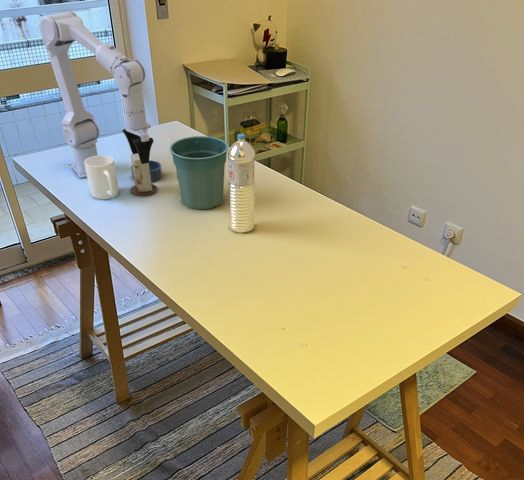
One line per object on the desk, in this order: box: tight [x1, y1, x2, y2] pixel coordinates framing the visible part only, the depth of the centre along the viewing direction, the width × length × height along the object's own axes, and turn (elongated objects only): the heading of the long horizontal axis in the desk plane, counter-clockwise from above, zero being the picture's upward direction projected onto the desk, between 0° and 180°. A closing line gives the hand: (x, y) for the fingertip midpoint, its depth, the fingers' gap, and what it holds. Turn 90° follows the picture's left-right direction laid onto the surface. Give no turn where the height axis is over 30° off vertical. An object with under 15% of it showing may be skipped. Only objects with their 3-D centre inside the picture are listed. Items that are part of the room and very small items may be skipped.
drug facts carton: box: [130, 153, 153, 193], centre depth 161 cm, size 5×4×10 cm
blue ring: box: [130, 159, 163, 183], centre depth 171 cm, size 9×9×4 cm
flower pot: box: [168, 135, 230, 210], centre depth 154 cm, size 16×16×16 cm
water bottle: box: [227, 133, 256, 234], centre depth 139 cm, size 7×7×25 cm
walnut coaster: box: [130, 183, 158, 197], centre depth 164 cm, size 8×8×1 cm
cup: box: [84, 154, 120, 200], centre depth 158 cm, size 8×12×10 cm
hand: (140, 158), depth 158 cm, fingers open, 7 cm apart
